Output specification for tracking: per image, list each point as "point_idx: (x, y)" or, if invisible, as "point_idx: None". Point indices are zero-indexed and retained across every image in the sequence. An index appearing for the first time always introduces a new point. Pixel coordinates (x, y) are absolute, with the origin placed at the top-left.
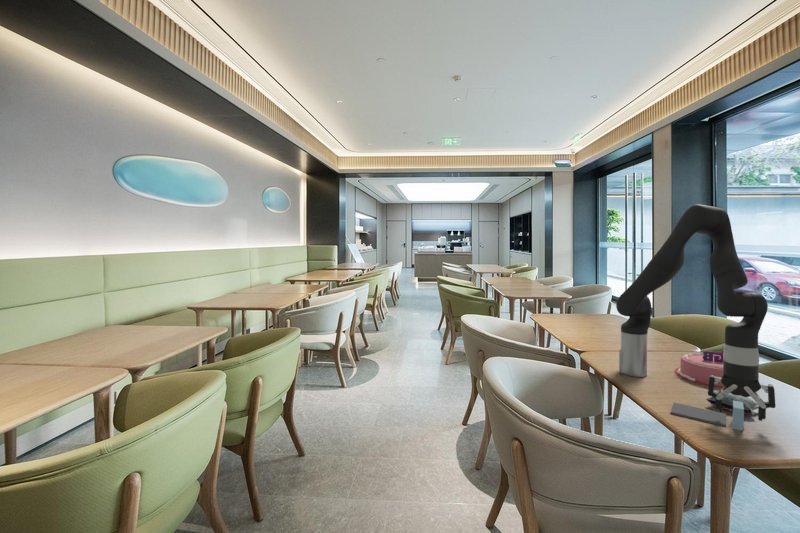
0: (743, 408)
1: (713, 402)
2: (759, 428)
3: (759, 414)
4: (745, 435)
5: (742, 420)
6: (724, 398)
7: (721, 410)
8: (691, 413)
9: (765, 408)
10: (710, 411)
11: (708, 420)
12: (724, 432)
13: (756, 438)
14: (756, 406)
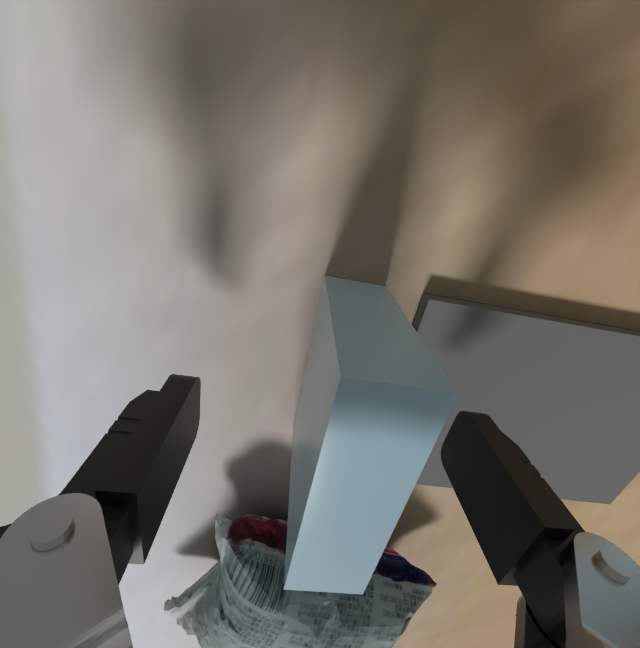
0: (324, 445)
1: (398, 569)
2: (214, 374)
3: (170, 416)
4: (331, 180)
5: (337, 312)
6: (358, 617)
7: (474, 421)
8: (595, 391)
9: (53, 506)
10: (445, 472)
11: (533, 319)
12: (484, 156)
13: (261, 156)
14: (192, 600)
